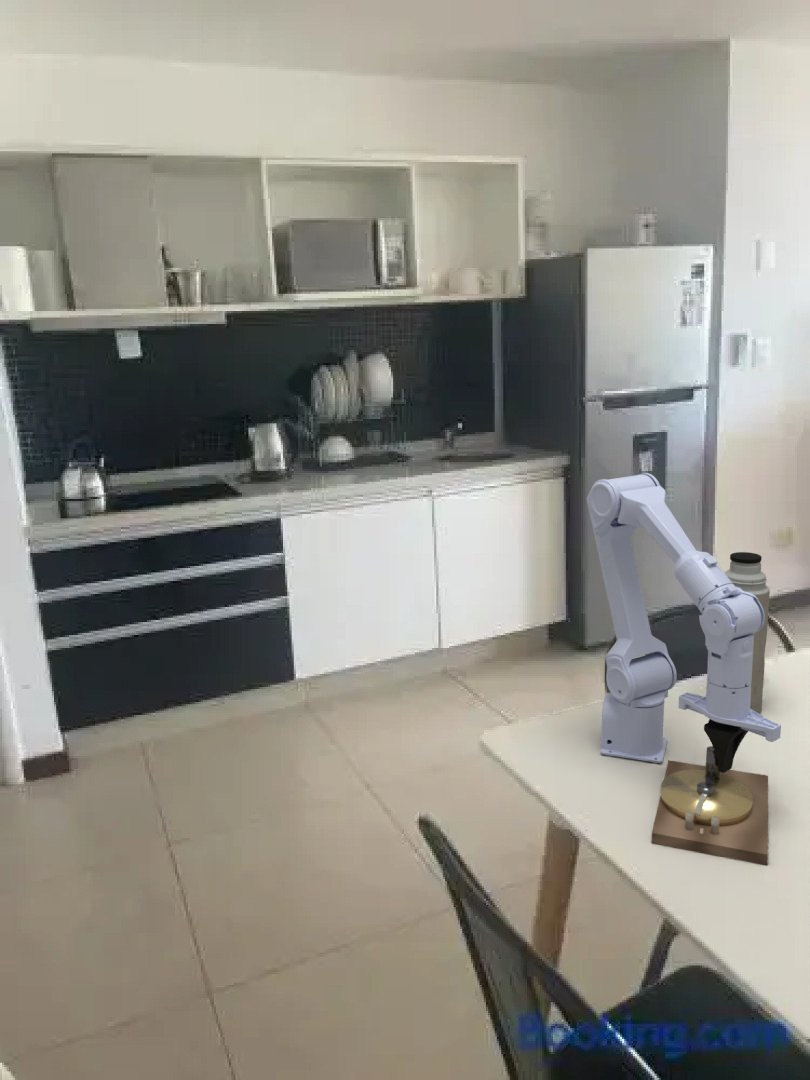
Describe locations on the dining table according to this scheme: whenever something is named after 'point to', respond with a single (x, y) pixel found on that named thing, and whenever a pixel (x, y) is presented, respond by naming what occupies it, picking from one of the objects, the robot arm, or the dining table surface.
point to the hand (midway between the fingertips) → (724, 769)
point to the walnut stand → (713, 839)
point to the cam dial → (707, 794)
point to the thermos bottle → (754, 581)
